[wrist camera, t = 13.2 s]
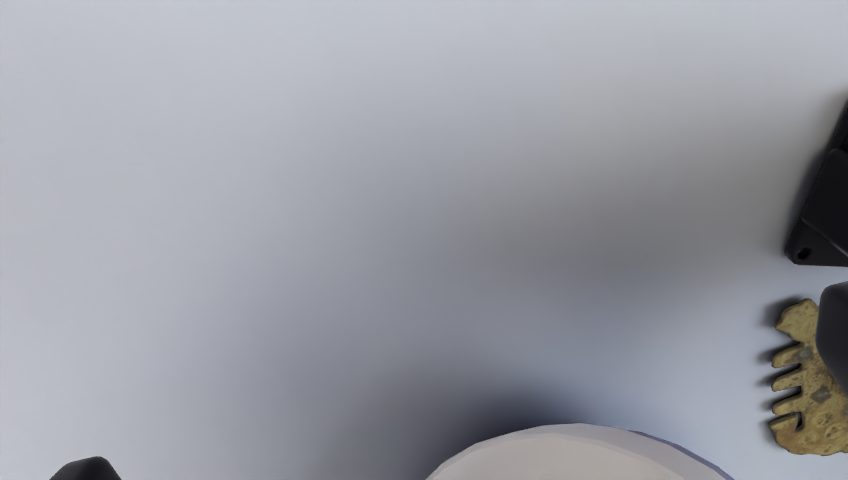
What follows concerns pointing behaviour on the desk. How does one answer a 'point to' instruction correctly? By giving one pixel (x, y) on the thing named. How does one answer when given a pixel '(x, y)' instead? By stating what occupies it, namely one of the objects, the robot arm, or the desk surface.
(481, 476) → the bowl
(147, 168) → the desk surface
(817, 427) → the ornament
